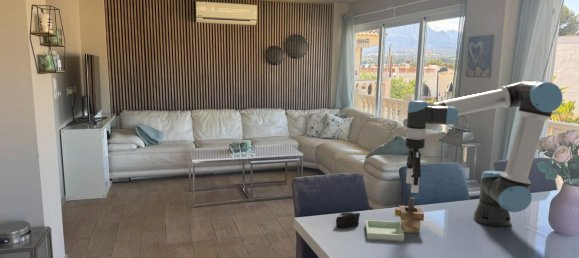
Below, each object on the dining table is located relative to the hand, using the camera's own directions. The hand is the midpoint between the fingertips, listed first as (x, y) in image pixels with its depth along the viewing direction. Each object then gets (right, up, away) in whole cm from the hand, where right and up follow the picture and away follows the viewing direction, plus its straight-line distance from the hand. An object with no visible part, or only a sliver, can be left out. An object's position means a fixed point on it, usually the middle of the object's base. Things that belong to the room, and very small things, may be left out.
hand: (411, 187), depth 175 cm
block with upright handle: (0, -18, +3) cm, 19 cm away
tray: (-12, -19, -2) cm, 23 cm away
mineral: (-27, -18, +8) cm, 33 cm away
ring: (0, -12, +2) cm, 13 cm away
